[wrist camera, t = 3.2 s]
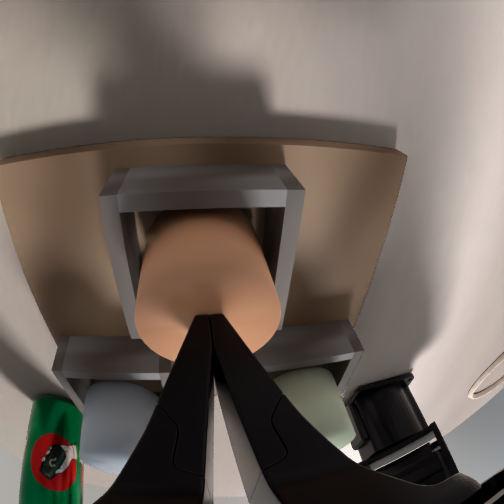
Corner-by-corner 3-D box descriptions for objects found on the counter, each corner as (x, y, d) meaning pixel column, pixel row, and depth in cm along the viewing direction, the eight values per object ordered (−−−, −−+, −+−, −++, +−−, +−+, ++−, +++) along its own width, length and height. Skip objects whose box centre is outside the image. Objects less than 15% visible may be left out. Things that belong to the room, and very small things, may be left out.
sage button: (341, 361, 16) (367, 422, 13) (323, 400, 19) (341, 452, 16) (263, 373, 16) (281, 442, 12) (257, 411, 18) (269, 468, 15)
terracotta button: (261, 195, 12) (290, 259, 8) (253, 287, 14) (272, 360, 11) (140, 199, 11) (121, 267, 8) (152, 292, 13) (147, 368, 10)
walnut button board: (395, 149, 13) (441, 177, 10) (326, 369, 22) (340, 407, 20) (3, 158, 10) (-38, 191, 7) (89, 385, 19) (84, 425, 16)
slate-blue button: (154, 380, 15) (154, 452, 11) (166, 417, 17) (169, 476, 14) (75, 379, 14) (65, 446, 10) (99, 416, 16) (96, 472, 13)
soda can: (23, 390, 19) (4, 521, 9) (70, 391, 20) (58, 537, 10) (53, 419, 22) (44, 534, 12) (98, 420, 22) (96, 545, 13)
